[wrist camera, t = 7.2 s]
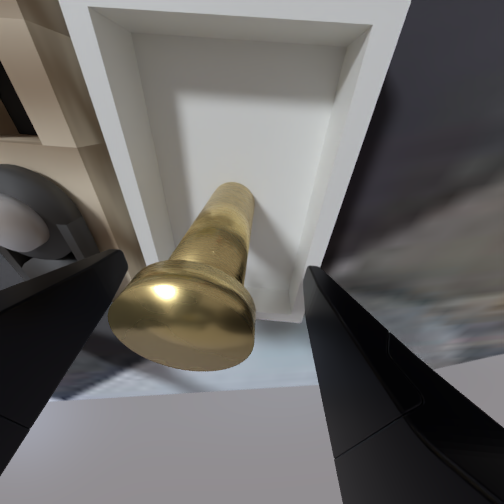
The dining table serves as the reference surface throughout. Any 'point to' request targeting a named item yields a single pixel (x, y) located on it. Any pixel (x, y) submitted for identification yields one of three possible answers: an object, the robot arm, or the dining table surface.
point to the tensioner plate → (55, 154)
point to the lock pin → (195, 293)
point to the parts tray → (237, 117)
